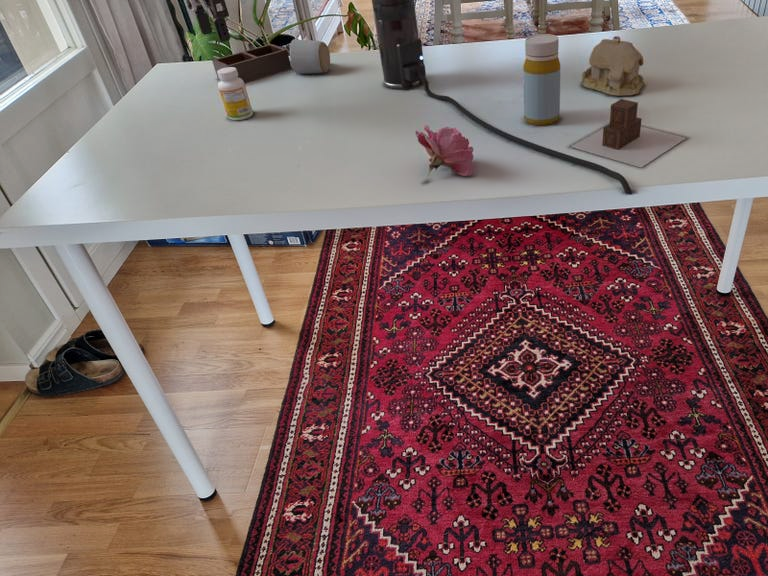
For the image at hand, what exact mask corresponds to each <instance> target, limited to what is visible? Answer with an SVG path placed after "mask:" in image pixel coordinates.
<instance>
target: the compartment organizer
mask: <svg viewBox="0 0 768 576" xmlns="http://www.w3.org/2000/svg"><path fill="white" fill-rule="evenodd" d="M211 62H212V65H213V68H214V71H215V74H216V77H217V80H218V81H221V80H220V79H219V77H218V73H217V71H218V70H220V69H222V68H226V67H235V68H236V69H237V72H238V78H241V79H242V80H243V81H244V84H246V83H248V82H251V81H255V80H259V79H262V78H265V77H269V76H272V75H275V74H279V73H282V72H285V71H289V70H293V68H292V65H291V60H290V55H289V52H288V49H286V48H283V47H281V46H278V45H275V44H272V43H268V44H266V45H261V46H258V47H255V48H251V49H247V50H244V51H239V52H236V53H233V54H229V55H225V56H221V57H218V58H214V59H211Z"/></svg>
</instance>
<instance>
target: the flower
mask: <svg viewBox="0 0 768 576" xmlns="http://www.w3.org/2000/svg"><path fill="white" fill-rule="evenodd" d="M423 130H425V132H426V133H427V134H426V133H424V132H422V131H418V130H415V136H416V138H417V141H418V143H419V144H420V146H422V147H423V148H424V149H425V151H426V152H427V154H428V155H429V156H430V158H428V161H429V162H430V163H429V165H428V167H429V171H428V175H427V178H425V179H426V180H425V181H424V182H425V183H426V182H427V180H428V179H429V176H430V173H431V171H432V170H433V169H435V171H437V169H439V167H441V166H443V167H451V169H452V170H453V171H454V172H455V173H456V174H458V175H460V176H462V177H468V176H471V175H473V172H474V162H473V160H474V147H473V146H469V145H470V140H469V139H468V138H466V136H463V134H462V133H461V132H460V131H459V130H458V129H457V127H454V128H451V126H445V127H441V128H439V130H438V131H433V130H431V129H430V127H429V124H426V125H424V127H423Z"/></svg>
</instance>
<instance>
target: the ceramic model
mask: <svg viewBox="0 0 768 576" xmlns="http://www.w3.org/2000/svg"><path fill="white" fill-rule="evenodd" d="M588 63H589V64H588V65H590V67H588V68H586V70H585V71H583V72H582V73H581V84H582V86H584V87H585V88H588V89H591V90H595V91H599V92H602V93H605V94H607V95H611V96H620V97H621V96H634V95H637V94H639V93H640V91H641V89H642V88H643V87H644V84H645V78H644V77H643V75H642V74H640V73H639V72H640V67H642V66H643V65H644V64H645V60H644V56H642V53H641V52H640V51H639V50H638V49H636V47H635V46H634V45H633V42H631V41H624V40H621V37H620V36H617V35H614V36H613V37H612V39H607V38H605V39H604V38H603V39H602V40H601V41H600V42H599V43H598V44H597V45H595V46H594V47H593V49H592V51H591V53H590V56H589V58H588Z"/></svg>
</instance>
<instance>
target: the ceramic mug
mask: <svg viewBox="0 0 768 576" xmlns="http://www.w3.org/2000/svg"><path fill="white" fill-rule="evenodd" d="M289 60H290V64H291V67H292V70H293V71H294V73H296V74H301V75H302V74H305V75H306V74H324V73H327V72H328V71H329V69H330V67H331V54H330V49H329V46H328V45H327V43H326V42H325V41H322V40H311V39H310V40H309V39H297V38H293V39H292V40H291V42H290V45H289Z"/></svg>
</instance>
